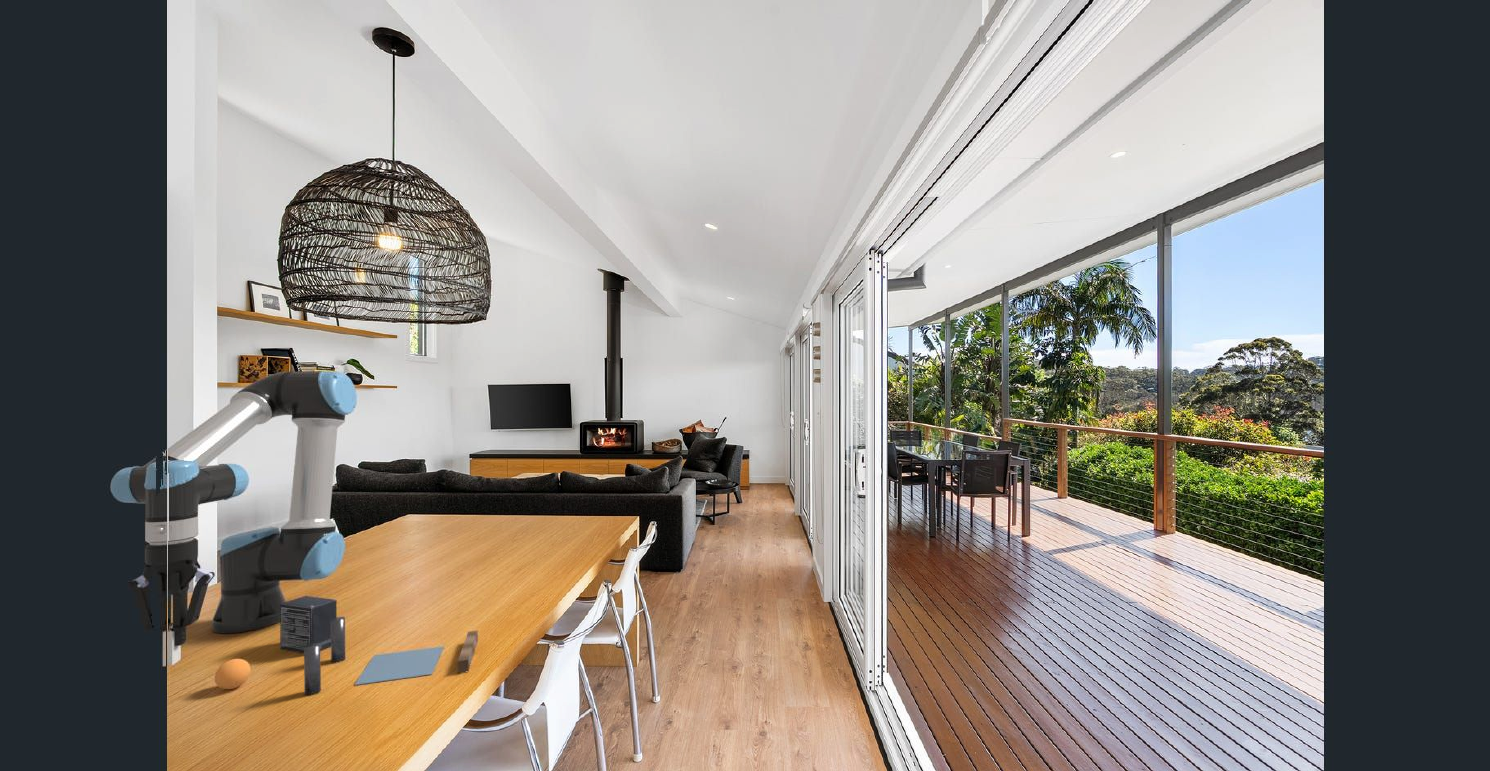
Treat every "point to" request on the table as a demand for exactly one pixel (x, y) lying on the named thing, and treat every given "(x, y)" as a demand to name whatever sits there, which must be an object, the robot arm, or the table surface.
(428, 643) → the table surface
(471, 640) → the stopper wall
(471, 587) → the table surface
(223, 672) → the ball
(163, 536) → the robot arm
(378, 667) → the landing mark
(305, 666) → the post
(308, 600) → the small box
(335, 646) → the post
